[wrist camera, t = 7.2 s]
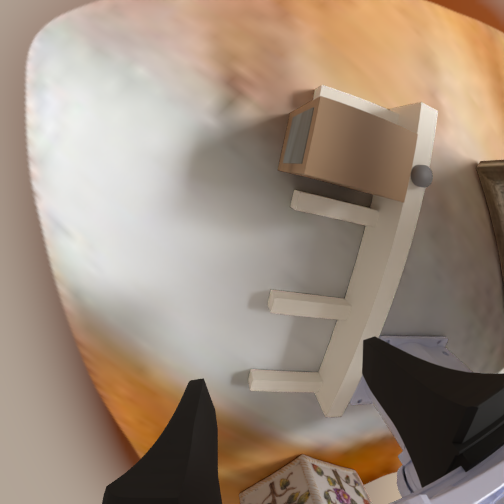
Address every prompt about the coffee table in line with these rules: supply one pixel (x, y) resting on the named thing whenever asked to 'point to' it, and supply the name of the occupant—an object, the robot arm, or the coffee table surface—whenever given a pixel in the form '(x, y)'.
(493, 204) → the picture frame
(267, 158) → the coffee table surface
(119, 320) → the coffee table surface
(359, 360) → the cream pronged rack
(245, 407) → the coffee table surface
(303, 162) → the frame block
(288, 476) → the decorative jar
